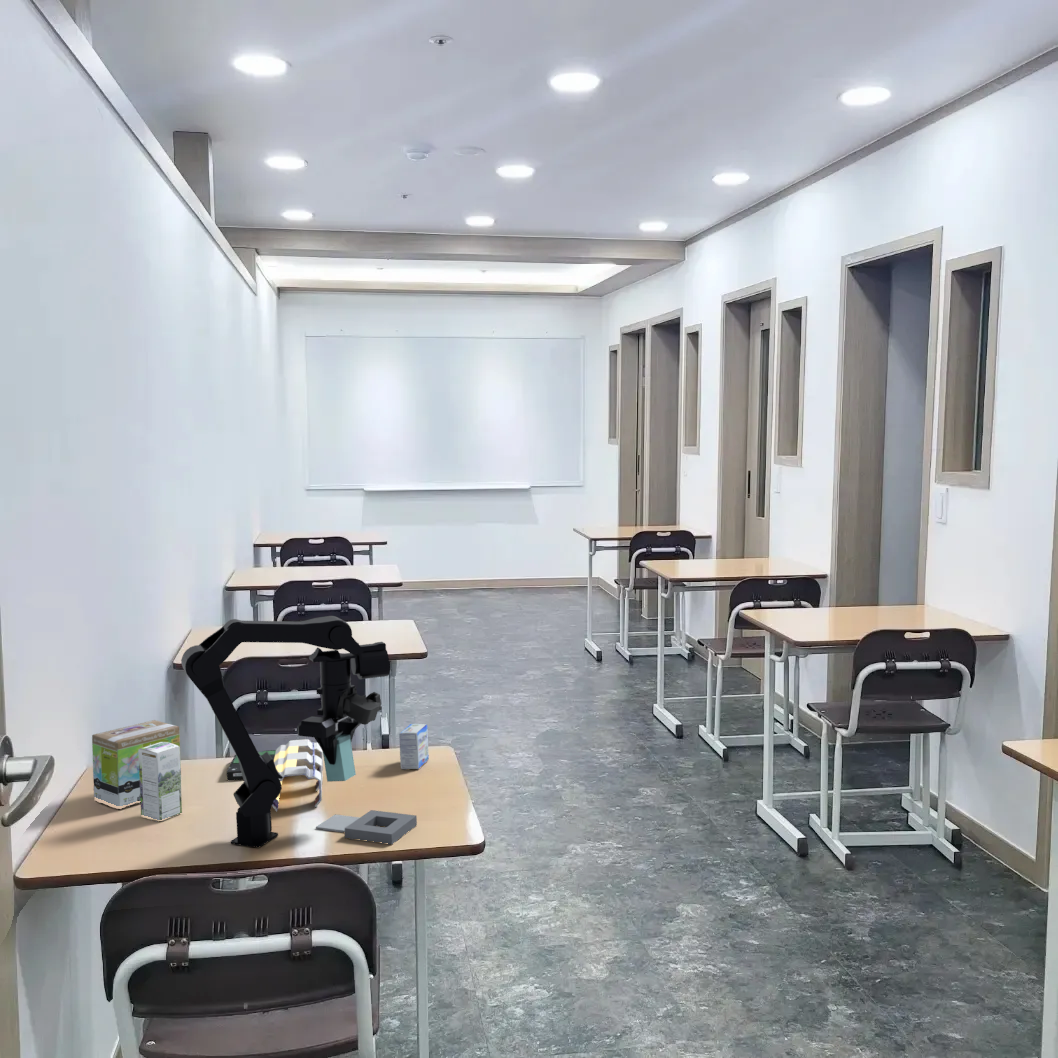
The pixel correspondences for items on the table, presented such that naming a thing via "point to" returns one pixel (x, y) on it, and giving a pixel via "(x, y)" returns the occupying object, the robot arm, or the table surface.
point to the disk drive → (234, 767)
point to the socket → (392, 821)
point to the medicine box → (413, 746)
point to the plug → (341, 761)
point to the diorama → (300, 763)
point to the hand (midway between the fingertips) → (338, 760)
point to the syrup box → (160, 780)
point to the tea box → (125, 759)
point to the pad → (337, 823)
